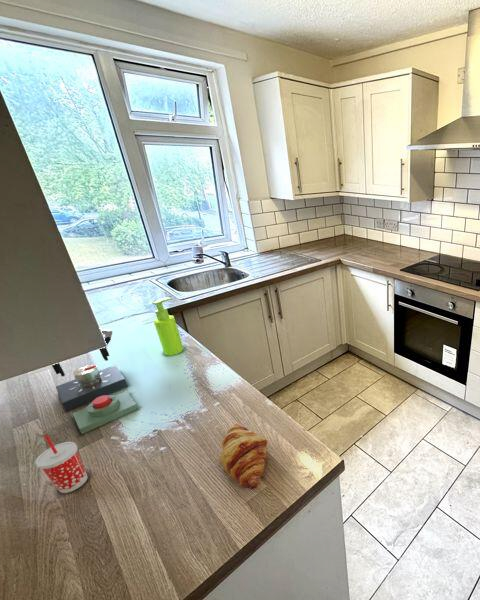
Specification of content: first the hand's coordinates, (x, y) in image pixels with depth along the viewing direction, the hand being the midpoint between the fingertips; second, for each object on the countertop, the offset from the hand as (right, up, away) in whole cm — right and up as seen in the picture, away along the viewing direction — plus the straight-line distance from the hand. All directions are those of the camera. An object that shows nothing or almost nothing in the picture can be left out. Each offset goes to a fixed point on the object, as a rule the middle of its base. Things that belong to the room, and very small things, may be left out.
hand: (85, 366), depth 96 cm
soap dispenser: (+10, +1, +24) cm, 26 cm away
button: (+11, -9, -7) cm, 16 cm away
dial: (0, -5, +2) cm, 6 cm away
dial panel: (0, -8, +3) cm, 9 cm away
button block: (+11, -12, -5) cm, 17 cm away
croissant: (+56, -18, -19) cm, 62 cm away
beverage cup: (+21, -21, -24) cm, 38 cm away
